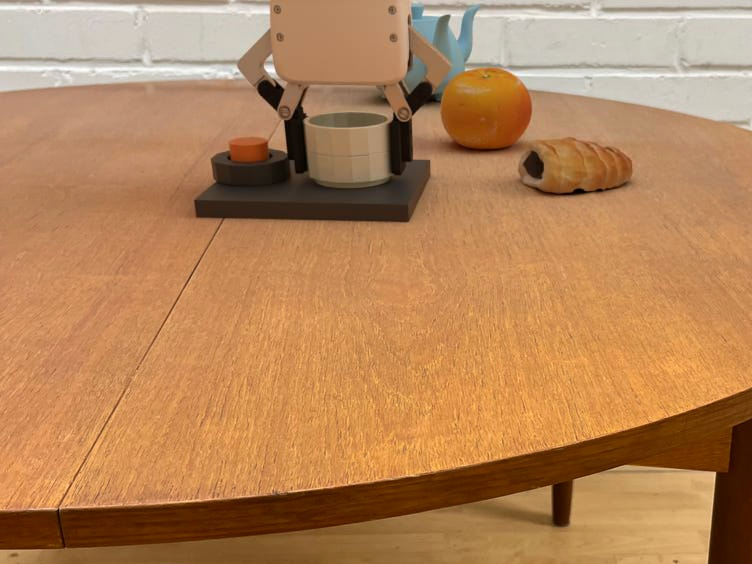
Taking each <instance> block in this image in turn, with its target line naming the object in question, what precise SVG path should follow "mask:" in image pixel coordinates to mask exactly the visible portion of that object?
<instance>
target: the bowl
mask: <svg viewBox="0 0 752 564" xmlns="http://www.w3.org/2000/svg"><path fill="white" fill-rule="evenodd" d="M392 120H393V116H391V115H390V114H386V113H381V112H376V111H364V110H343V111H340V110H339V111H330V112H323V113H316V114H312V115H310V116H309V115H308V117H306V118H305V119H304V120H303V121H302V124H303V135H304V146H305V157H306V168H307V174H308V175H309V177H310V178H313V179H314V181H315V182H316V183H317V184H320V185H323V186H327V187H333V188H364V187H371V186H376V185H380V184H383V183H385V182H387V181H388V180H389V179H390V176H392V175H394V174H392V165H391V145H390V123H391V121H392Z"/></svg>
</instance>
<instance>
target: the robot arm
mask: <svg viewBox="0 0 752 564" xmlns="http://www.w3.org/2000/svg"><path fill="white" fill-rule="evenodd" d="M411 2H412V1H411V0H269V22H270V23H269V25H270V27H269V29H267V30H266V32H265V33H263V34H262V36H261V37H260V38H259V39H258V40H257V41H256V42H255V43H254V44H253V45H251V47H250V48H249V49H248V50H247V51H246V52H245V53H244V54H243V55H242V56H241V57H240V59H238V61H237V63H236V67H237V69H238V71H239V72H240V73H241V74H242V75H243V76H244V78H245V79H246V80H247V81H248V83H249V84H250V85H251V86H252V87H254V88H255V89H256V90H257V93H258V95H259V96H260V97H261V98H262V99H263V100H264V101H265V102H266V103H267V104H268V106H270V107H272V109H273V110H274V111H276V113H277V115H278V117H279V118H280V119H281V120H282V121H283V126H284V127H283V128H284V134H285V136H284V137H285V145H286V153H287V156H288V159H289V160H294V165H295V172H296V174H303V173H304V172H306V171H307V168H306V157H305V146H304V135H303V124H302V121H303V120H304V119H305V118H306V117H309V115H307V113H306V112H305V111H304V107H303V104H304V101H305V99H306V96H307V94H308V91H309V89H310V86H367V87H368V86H371V87H372V86H374V87H376V86H380V87H381V88H382V90H383V91H382V92H383V93H384V94H385V96H386V98H387V99H386V98H385V99H386V100H387V101H388V103H389V106H390V107H391V109H392V111H393V112H392V118H393V120H392V121H391V123H390V145H391V165H392V174H394V175H402V173H403V172H404V170H405V168H406V162H412V160H413V159H414V141H413V139H414V138H413V116H414V115H416V113H417V112H418V111H419V110H420V108H422V107H423V105H424V104H425V103H426V102H427V101H428V100H429V99H430V98H431V96H433V95H434V94H433V92H434V91H435V90H436V88H437V87H438V86H439V85H440V83H441V82H442V81H443V79H444V78H445V77H446V75H447V74H448V73H449V71H450V70H451V67H452V64H451V61H450V60H449V59H448V58H447V57H446V56H444V55H443V54H442V53H441V52H440V51H439V50H438V49H437V48H436V47H435V46H433V45H432V44H431V43H430V42H429V41H428V40H427V39H426V38H425V37H424V36H422V35H421V34H420V33H419V32H418V31H417V30H416V29H415V28H414V27H413V24H412V12H411V4H412V3H411ZM414 55H415V56H417V57H418V58H419V59H420V60H421V61H422V62H423V63H424V64H425V65H426V66H427V69H428V70H427V74H426V75H425V77H424V78H423V79H422V81H421V82H420V83H419V84H418V85H417V86H416V87H415V88H414V90H413V91H412V92H411V93H410V92H409V90H408V88H407V86H406V84H405V83H404V81H403V79H404V78H405V76H406V74H407V73H409V72H410V71H411V70H412V68H413V64H414ZM270 56H272V63H273V68H274V71H275V73H276V75H277V76H278V77H279V79H281V80H283V81H284V82H286V85H285V88H284V87H283V86H282V85H281V84H280V83H279V82H278V81H277V80H276V79H274V78H273V77H271V75H270V74H269V72H268V71H267V70H266V69H265V62H266V60H268V59H269V58H270ZM432 94H433V95H432Z"/></svg>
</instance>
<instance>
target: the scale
mask: <svg viewBox="0 0 752 564" xmlns="http://www.w3.org/2000/svg"><path fill="white" fill-rule="evenodd" d="M269 157H270V159H266V160H262V161H254V162H236V161H231V156H230V149H229V150H225V151H221V152H218V153H216V154H215V155H213V156H212V157H211V158H210V163H211V173H212V177H213V180H214V182H213V183H212V184H211V185H210V186H209V187H207V188H206V189H205V190H204V191H202V192H201V193H200V194H199V195H198V196H197V197H196V198H194V199H193V203H194V204H193V205H194V210H195V217H196V218H199V219H200V218H201V219H203V218H204V219H247V220H248V219H249V220H255V219H256V220H290V221H291V220H294V221H334V222H335V221H336V222H337V221H339V222H378V223H379V222H380V223H410V220H411V219H412V216H413V215H414V212H415V210H416V208H417V205H418V203H419V202H420V201H419V200H420V199H421V198H422V195H423V192H424V191H425V189H426V186H427V184H428V182H429V180H430V178H431V159H416V158H415V159H414V158H413V160H412V162H406V168H405V170H404V172H403V173H402V175H392V176H390V179H389V180H388V181H387V182H385V183H383V184H380V185H376V186H371V187H364V188H333V187H327V186H323V185H320V184H317V183H316V182H315V181H314V179H313V178H310V177H309V175H308V174H307V171H306V172H304V173H303V174H296V172H295V165H294V160H289V159H288V156H287V152H285V151H284V150H280V149H275V148H269Z"/></svg>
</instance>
